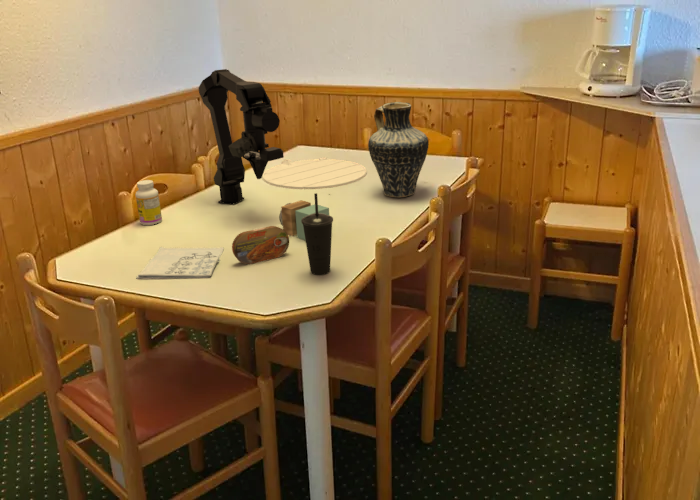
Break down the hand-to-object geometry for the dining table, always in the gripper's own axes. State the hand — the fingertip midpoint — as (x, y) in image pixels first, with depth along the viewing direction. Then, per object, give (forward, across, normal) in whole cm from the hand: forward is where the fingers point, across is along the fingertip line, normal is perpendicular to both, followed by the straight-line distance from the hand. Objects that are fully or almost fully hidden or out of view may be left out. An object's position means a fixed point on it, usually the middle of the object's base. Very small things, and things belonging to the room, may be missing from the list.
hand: (259, 178), depth 199 cm
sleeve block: (+12, +18, -2) cm, 22 cm away
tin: (+12, +27, -22) cm, 37 cm away
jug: (+12, +18, +43) cm, 48 cm away
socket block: (+12, +25, -2) cm, 28 cm away
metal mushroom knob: (+12, +21, -2) cm, 24 cm away
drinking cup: (+13, +45, -17) cm, 50 cm away
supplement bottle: (+12, -23, -26) cm, 36 cm away
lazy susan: (+12, -24, +43) cm, 51 cm away
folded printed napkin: (+13, +13, -36) cm, 41 cm away
